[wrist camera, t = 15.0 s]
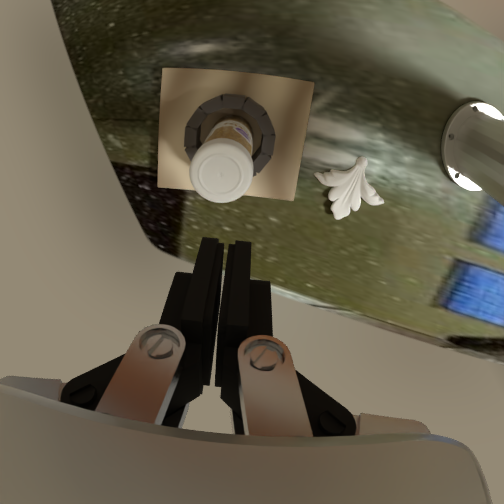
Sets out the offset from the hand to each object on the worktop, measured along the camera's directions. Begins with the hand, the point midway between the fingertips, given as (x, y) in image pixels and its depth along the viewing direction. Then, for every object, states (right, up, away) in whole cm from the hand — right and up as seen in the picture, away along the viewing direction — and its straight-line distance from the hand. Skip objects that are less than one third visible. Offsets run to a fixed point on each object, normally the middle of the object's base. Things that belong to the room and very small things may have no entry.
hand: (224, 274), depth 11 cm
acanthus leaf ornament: (+13, +9, +27) cm, 32 cm away
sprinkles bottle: (-1, +14, +22) cm, 26 cm away
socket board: (-1, +14, +23) cm, 27 cm away
